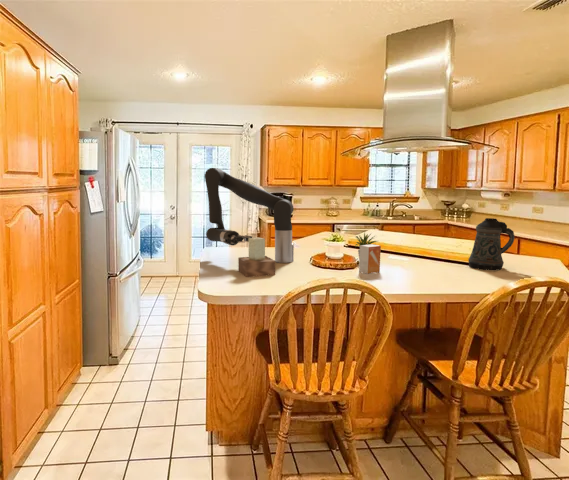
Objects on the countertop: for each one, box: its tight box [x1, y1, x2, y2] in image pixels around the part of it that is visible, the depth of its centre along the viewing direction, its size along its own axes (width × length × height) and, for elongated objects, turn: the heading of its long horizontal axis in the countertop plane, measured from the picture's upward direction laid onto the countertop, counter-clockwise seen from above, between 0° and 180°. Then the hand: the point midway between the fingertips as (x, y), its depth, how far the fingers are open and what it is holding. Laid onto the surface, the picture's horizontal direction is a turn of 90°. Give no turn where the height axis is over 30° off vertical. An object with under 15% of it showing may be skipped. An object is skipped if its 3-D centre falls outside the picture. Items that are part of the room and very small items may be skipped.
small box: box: [358, 243, 382, 275], centre depth 218 cm, size 8×6×13 cm
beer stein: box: [467, 217, 516, 271], centre depth 229 cm, size 16×19×25 cm
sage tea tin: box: [247, 236, 266, 261], centre depth 214 cm, size 6×6×10 cm
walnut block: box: [237, 255, 276, 278], centre depth 215 cm, size 14×14×7 cm
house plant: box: [354, 232, 378, 260], centre depth 242 cm, size 14×14×16 cm
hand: (244, 241), depth 223 cm, fingers open, 8 cm apart
